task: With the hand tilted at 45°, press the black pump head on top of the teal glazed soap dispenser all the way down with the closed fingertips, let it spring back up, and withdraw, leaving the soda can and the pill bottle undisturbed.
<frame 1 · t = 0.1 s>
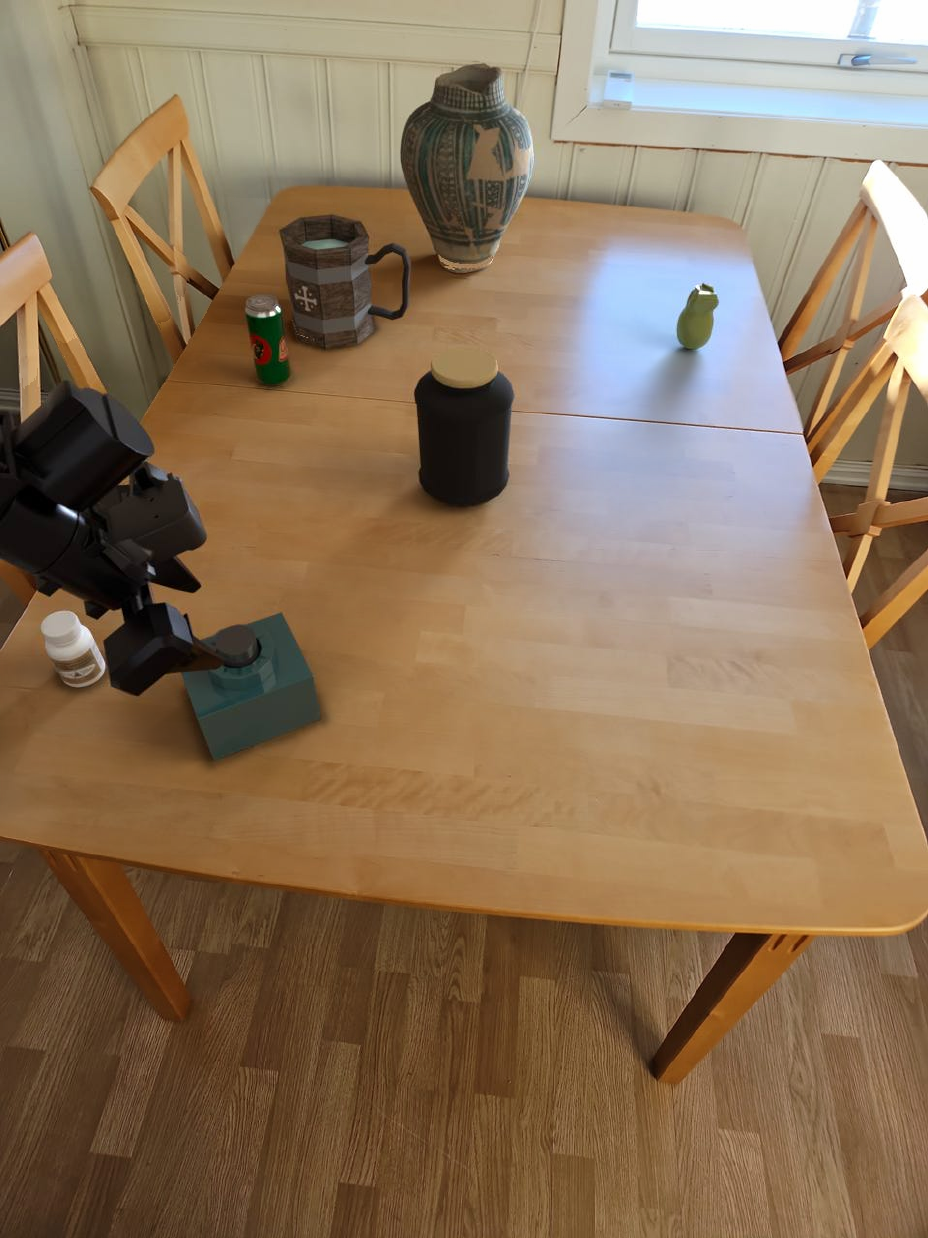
hand: (208, 625, 70), 16 cm above the table, tool tilted 35°, fingers open, 9 cm apart
pear: (689, 347, 132), on the table
dispenser: (254, 706, 83), on the table
container: (462, 487, 107), on the table
vase: (464, 262, 149), on the table
mug: (351, 329, 133), on the table
pump: (237, 646, 76), point 10 cm above the table, slide at 0.1 cm
soda can: (274, 379, 123), on the table
pill bottle: (85, 673, 86), on the table
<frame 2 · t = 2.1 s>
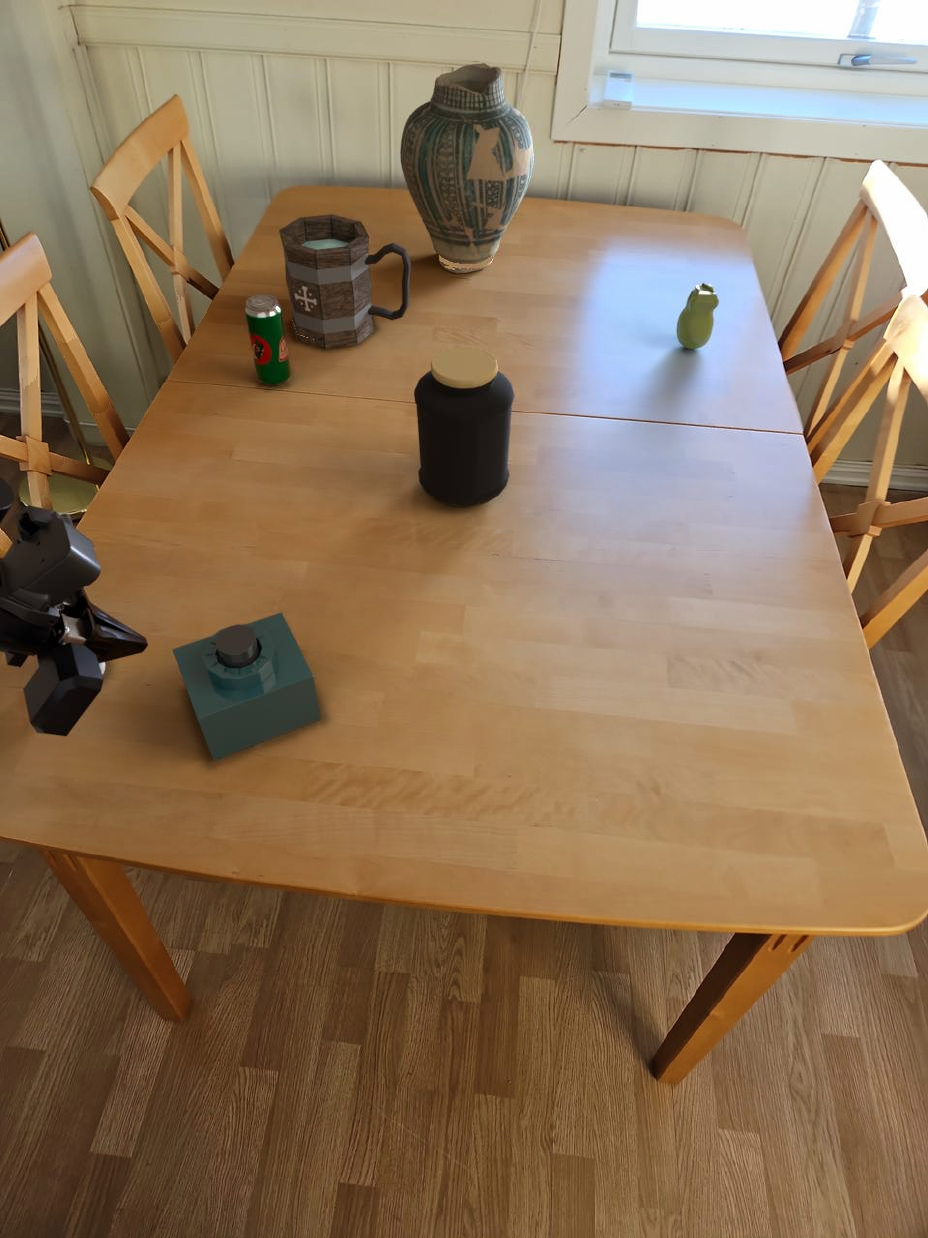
hand: (144, 645, 71), 14 cm above the table, tool tilted 45°, fingers closed
nothing on the table moved.
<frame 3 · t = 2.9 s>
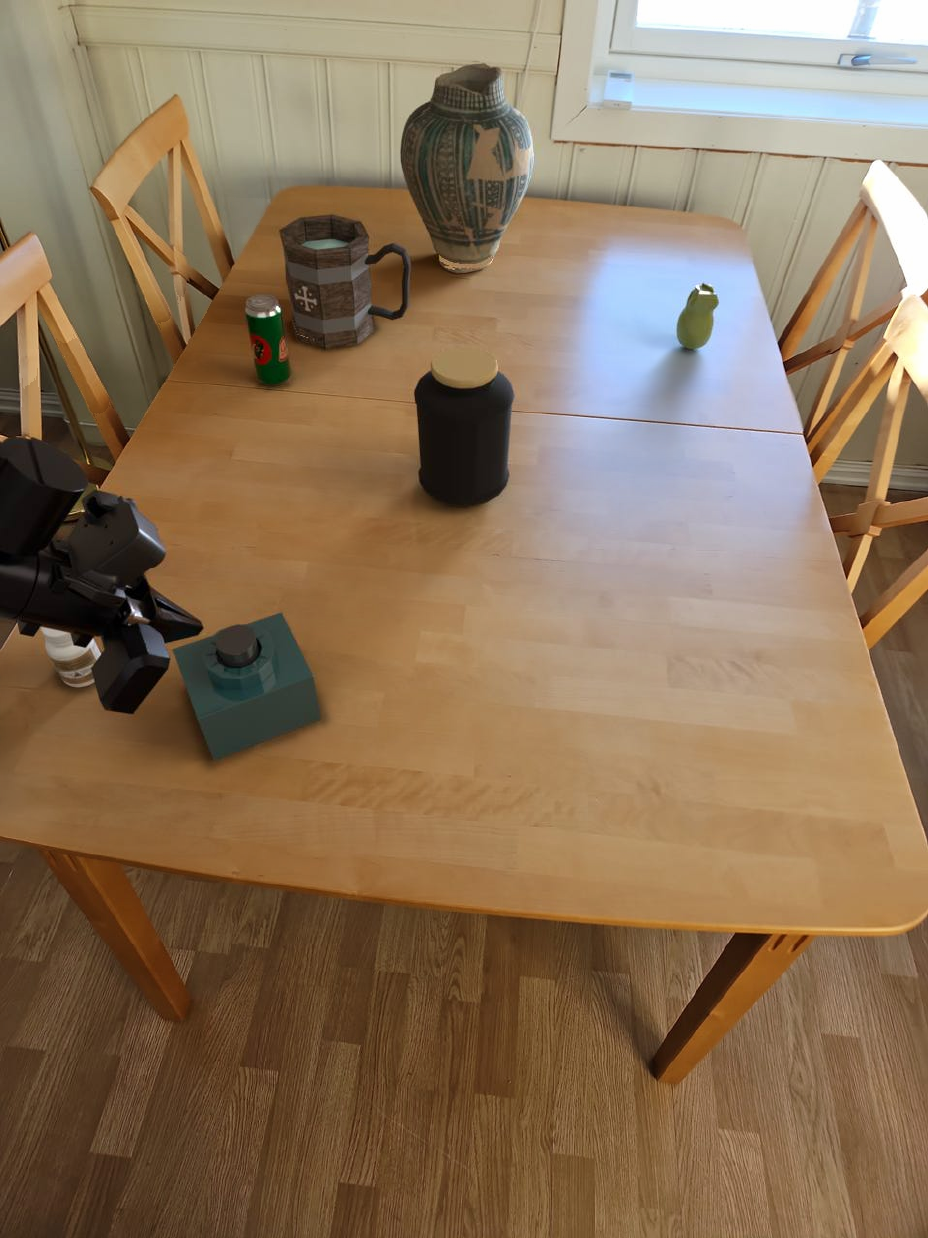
hand: (200, 628, 72), 13 cm above the table, tool tilted 45°, fingers closed
nothing on the table moved.
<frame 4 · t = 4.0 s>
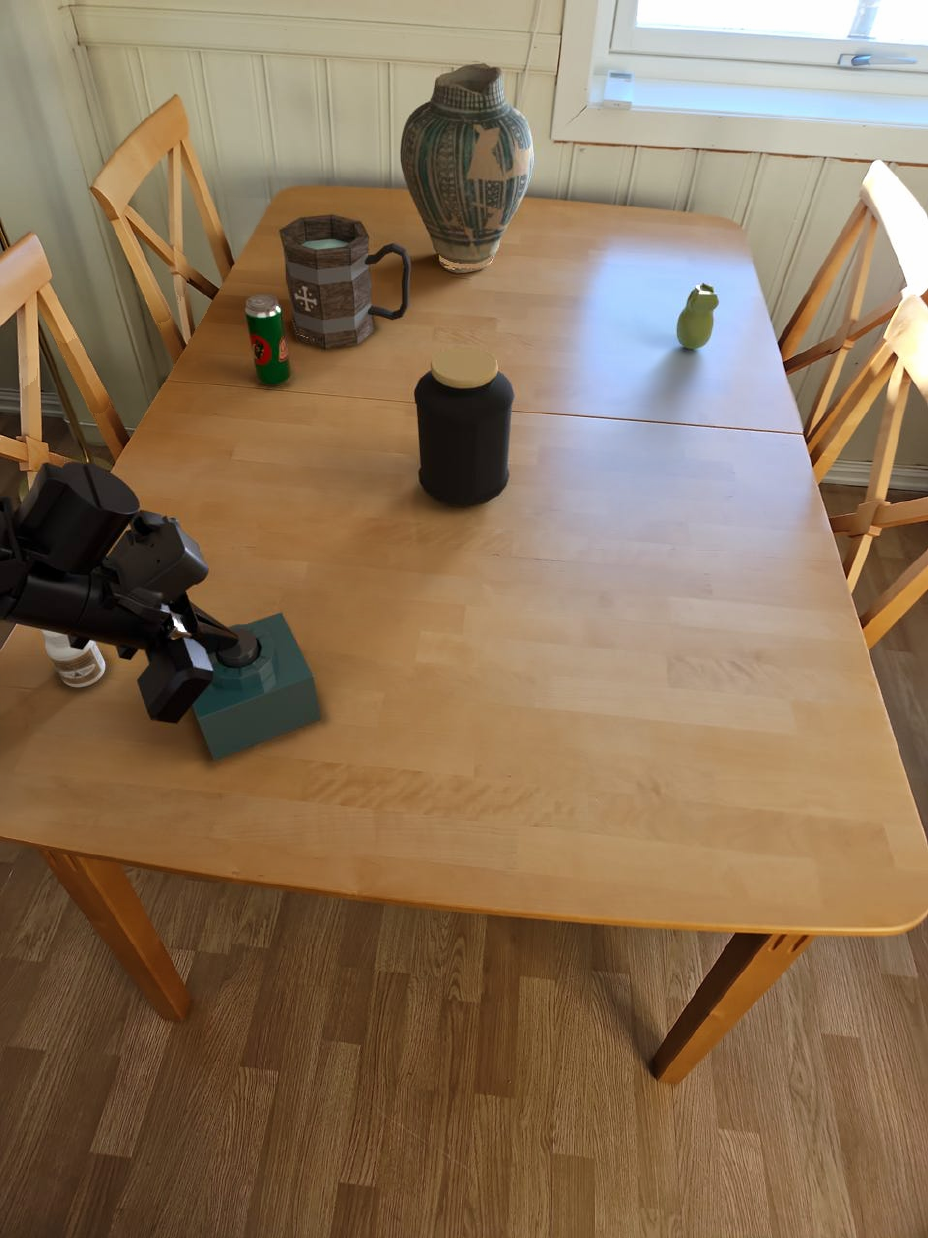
hand: (235, 640, 75), 10 cm above the table, tool tilted 45°, fingers closed, pressing on pump
pump: (238, 649, 76), point 9 cm above the table, slide at -0.4 cm, touching gripper
everything else where it was.
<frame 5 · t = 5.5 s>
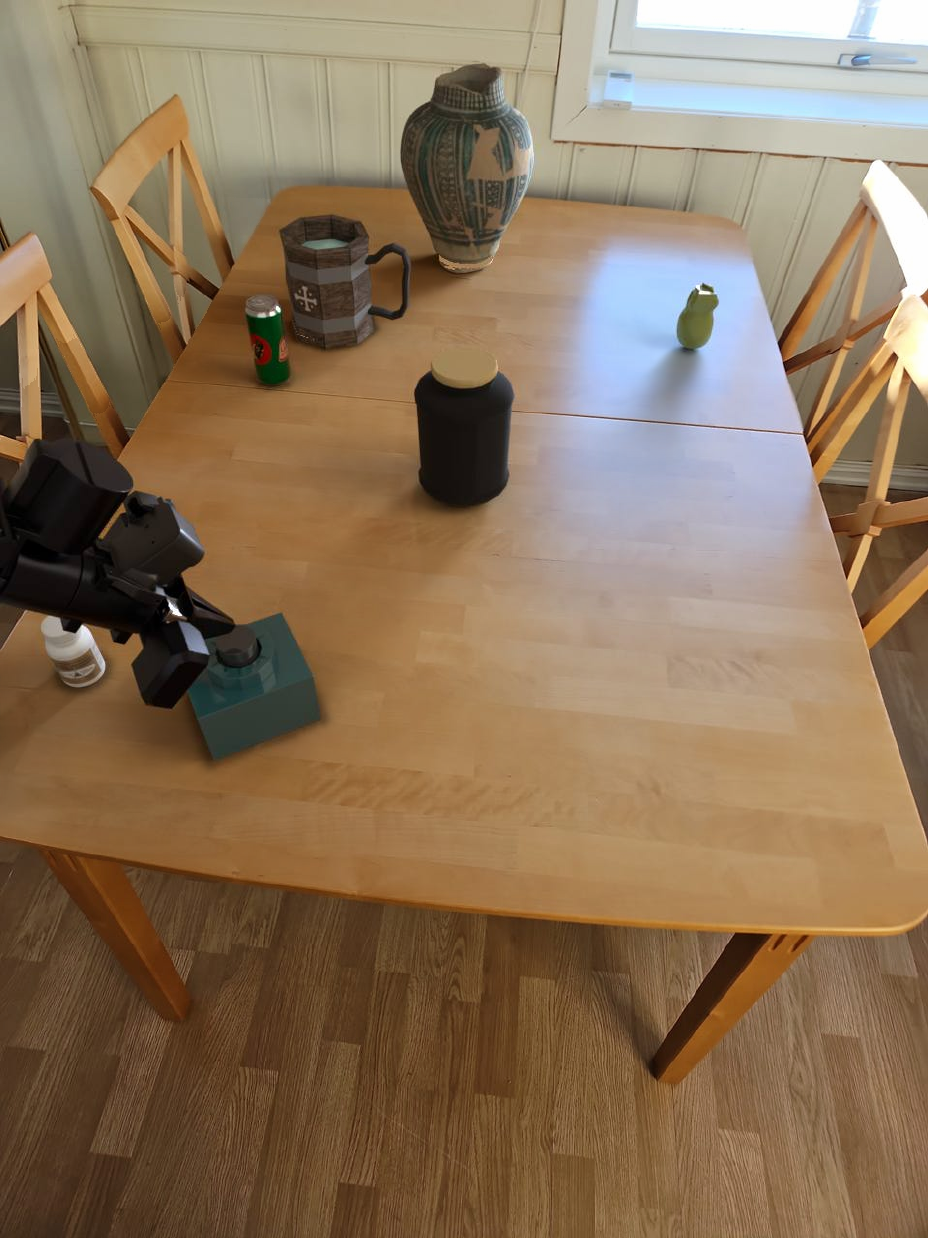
hand: (232, 626, 74), 12 cm above the table, tool tilted 45°, fingers closed
pump: (237, 646, 76), point 10 cm above the table, slide at 0.1 cm
everything else where it was.
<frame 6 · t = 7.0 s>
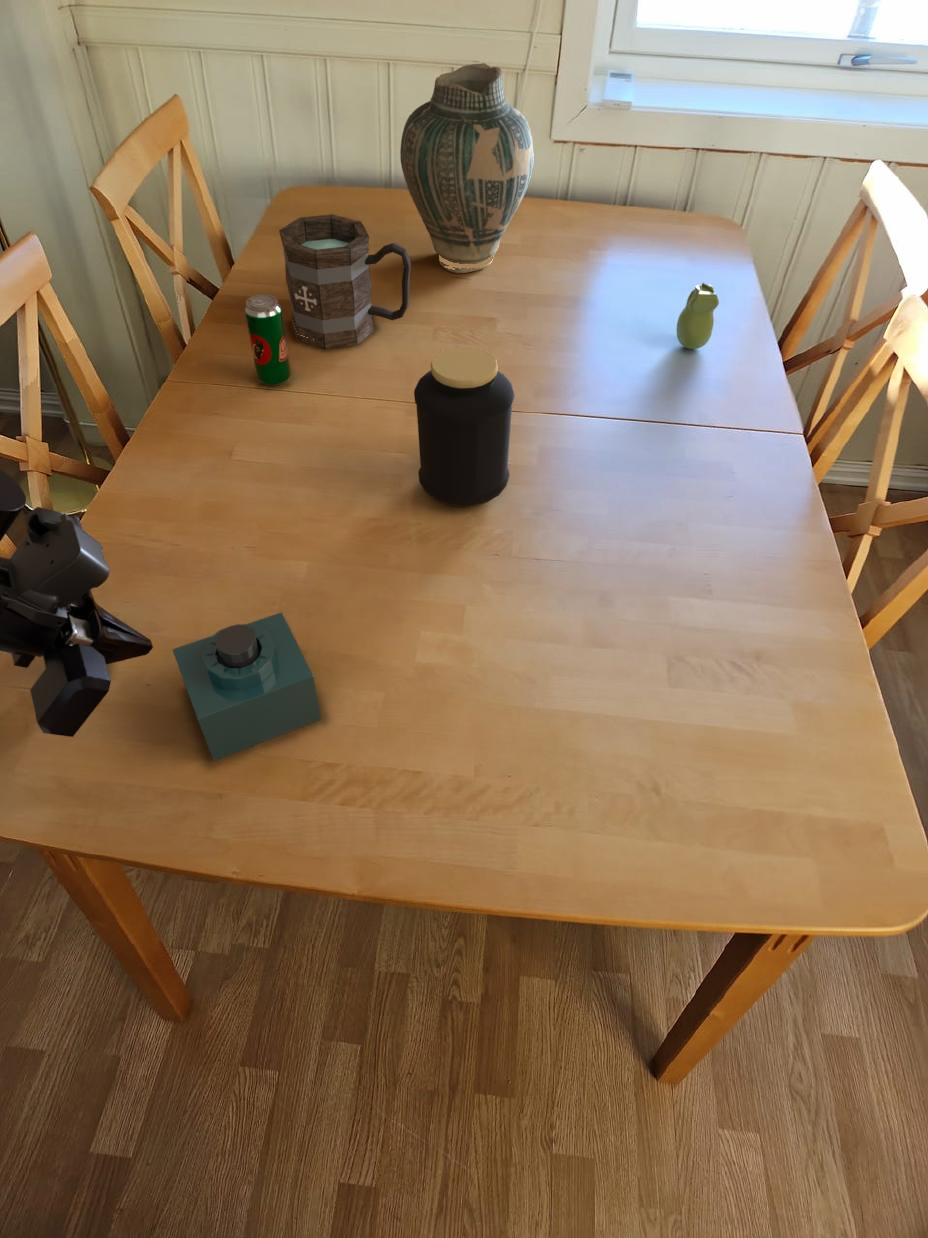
hand: (149, 647, 71), 13 cm above the table, tool tilted 45°, fingers closed
nothing on the table moved.
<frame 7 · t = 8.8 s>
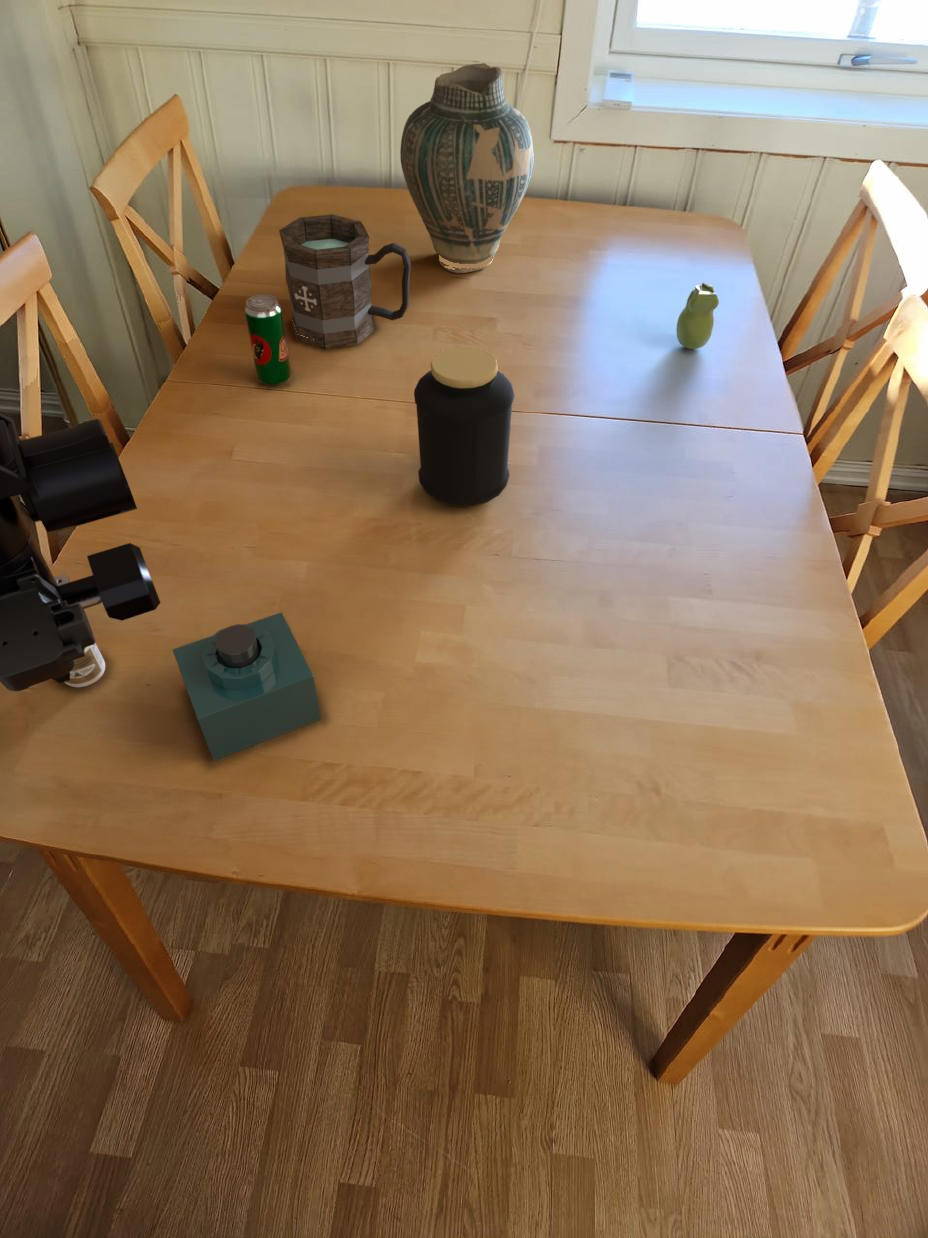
hand: (64, 678, 69), 13 cm above the table, tool pointing down, fingers closed
nothing on the table moved.
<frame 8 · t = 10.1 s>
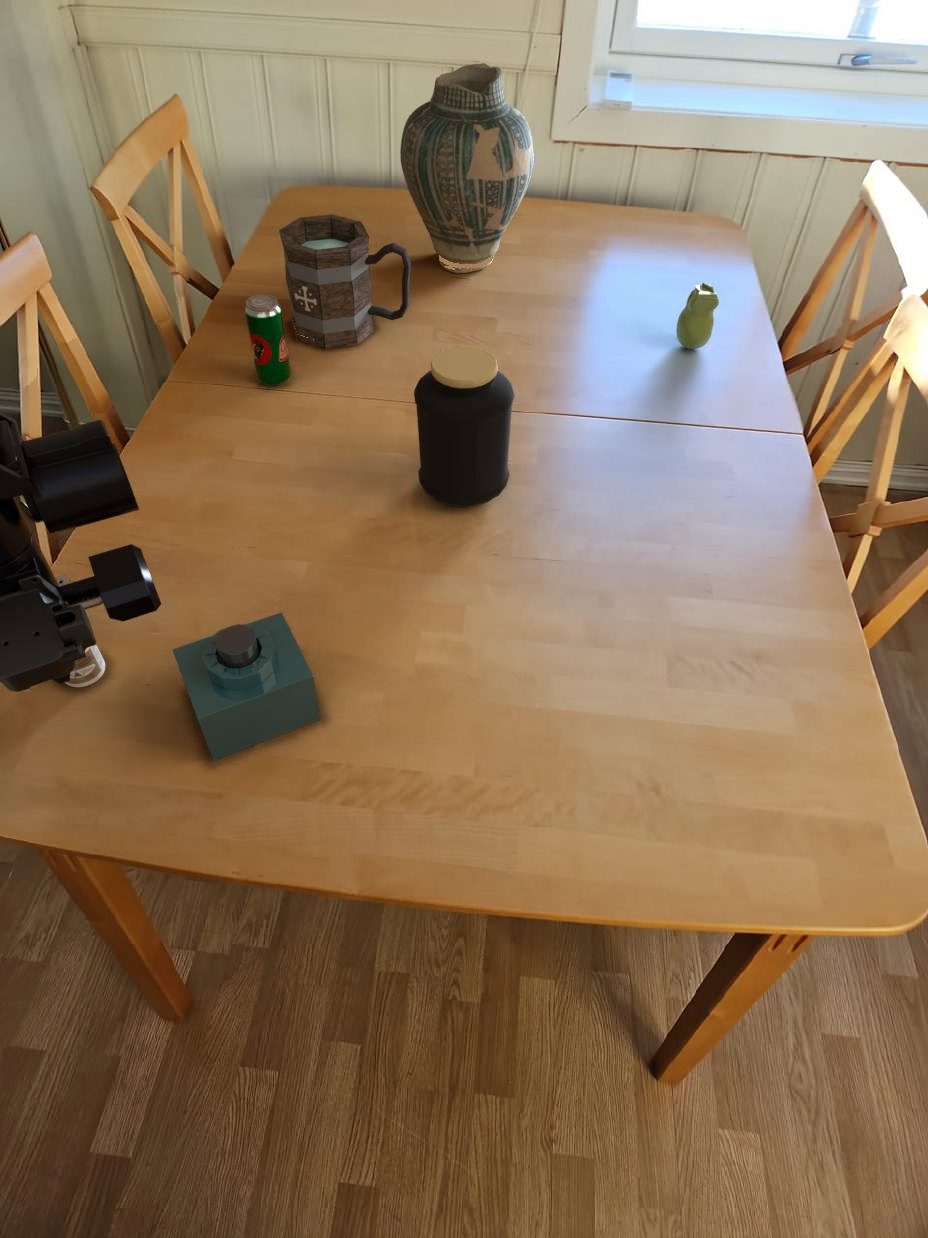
hand: (64, 679, 69), 13 cm above the table, tool pointing down, fingers closed
nothing on the table moved.
at the end: pump pushed in 1.3 cm at the most during the clip, back to where it started at the end; pump slide at 0.1 cm; soda can moved 0.2 cm from its start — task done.
